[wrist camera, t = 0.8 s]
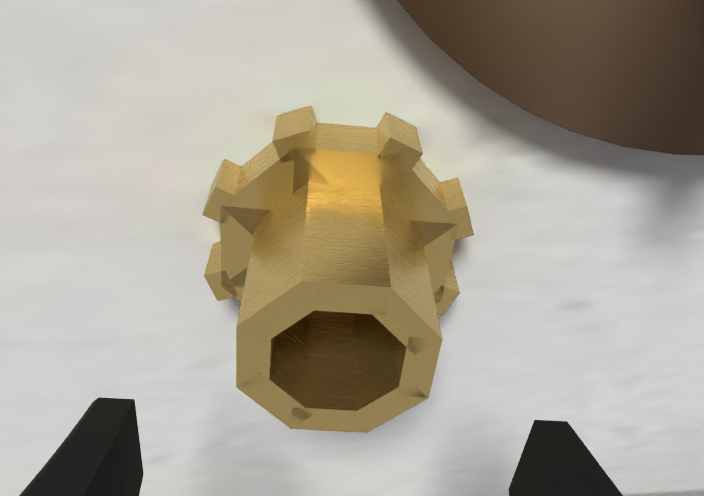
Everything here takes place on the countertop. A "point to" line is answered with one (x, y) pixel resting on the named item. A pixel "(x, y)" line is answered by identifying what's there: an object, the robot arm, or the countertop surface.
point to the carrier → (585, 63)
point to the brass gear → (336, 270)
